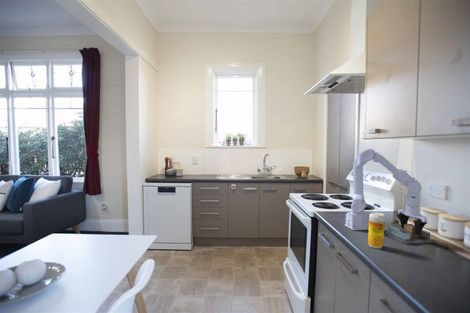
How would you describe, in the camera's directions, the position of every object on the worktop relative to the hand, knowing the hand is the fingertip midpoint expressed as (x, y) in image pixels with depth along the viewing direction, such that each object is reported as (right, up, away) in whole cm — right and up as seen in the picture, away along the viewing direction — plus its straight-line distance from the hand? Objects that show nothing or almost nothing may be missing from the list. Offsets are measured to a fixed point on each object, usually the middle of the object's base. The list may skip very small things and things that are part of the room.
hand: (410, 231), depth 121 cm
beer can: (-23, -4, -10) cm, 26 cm away
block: (0, -2, 0) cm, 2 cm away
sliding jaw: (-7, -2, -1) cm, 7 cm away
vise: (-1, -3, 0) cm, 3 cm away
